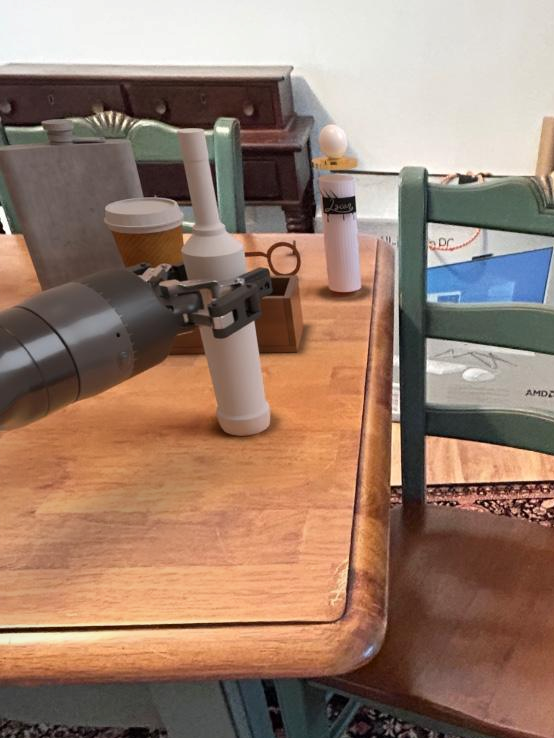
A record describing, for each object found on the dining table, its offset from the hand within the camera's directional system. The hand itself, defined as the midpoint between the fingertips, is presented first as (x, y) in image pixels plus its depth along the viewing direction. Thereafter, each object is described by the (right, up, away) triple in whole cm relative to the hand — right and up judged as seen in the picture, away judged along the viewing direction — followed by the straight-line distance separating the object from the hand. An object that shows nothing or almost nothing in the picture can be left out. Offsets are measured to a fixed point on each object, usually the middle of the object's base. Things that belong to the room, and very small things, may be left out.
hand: (235, 273), depth 66 cm
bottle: (-1, -12, +8) cm, 14 cm away
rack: (-10, +2, +24) cm, 26 cm away
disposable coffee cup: (-19, +10, +33) cm, 40 cm away
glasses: (-10, +21, +45) cm, 50 cm away
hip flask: (-30, +15, +38) cm, 50 cm away
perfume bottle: (+5, +14, +37) cm, 40 cm away
